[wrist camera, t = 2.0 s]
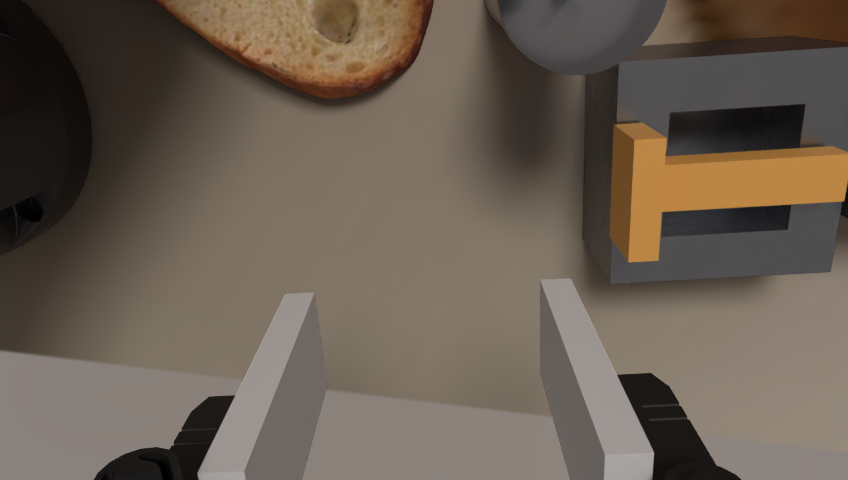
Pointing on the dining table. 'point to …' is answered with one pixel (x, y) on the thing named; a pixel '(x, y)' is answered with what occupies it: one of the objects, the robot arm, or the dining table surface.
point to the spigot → (577, 30)
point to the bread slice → (313, 38)
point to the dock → (721, 150)
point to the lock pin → (708, 183)
